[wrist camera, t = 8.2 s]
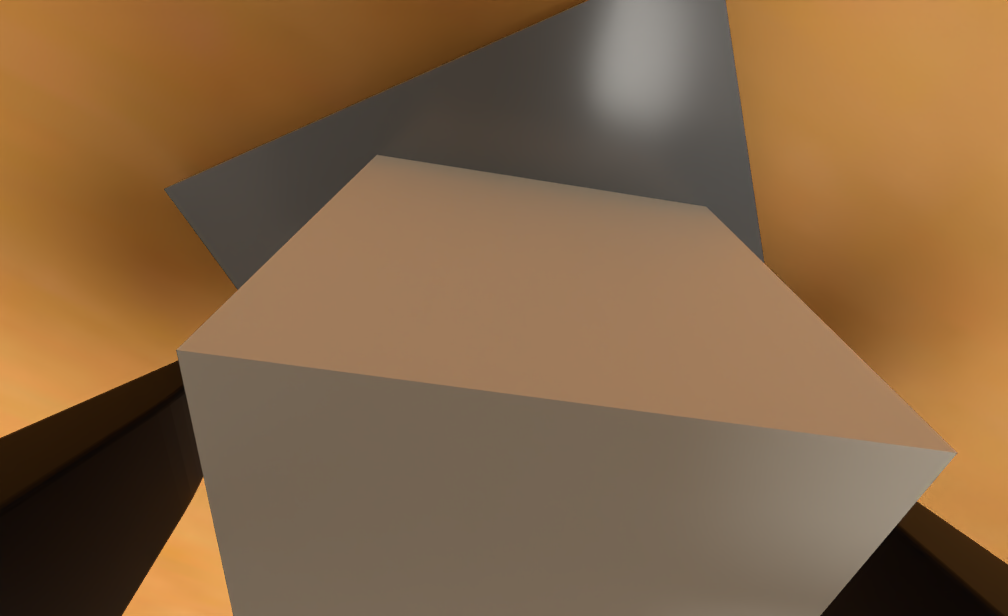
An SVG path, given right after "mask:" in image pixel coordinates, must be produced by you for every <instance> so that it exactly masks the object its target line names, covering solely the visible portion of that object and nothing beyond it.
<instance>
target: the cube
mask: <svg viewBox="0 0 1008 616" xmlns="http://www.w3.org/2000/svg"><path fill="white" fill-rule="evenodd" d="M176 351H177V355H178V360H179V365H180V369H181V374H182V379H183V383H184V388H185V393H186V397H187V402H188V407H189V411H190V416H191V421H192V425H193V430H194V435H195V439H196V444H197V449H198V453H199V458H200V463H201V467H202V472H203V476H204V481H205V486H206V490H207V495H208V500H209V504H210V509H211V514H212V518H213V523H214V528H215V532H216V537H217V542H218V546H219V551H220V556H221V560H222V565H223V570H224V574H225V579H226V584H227V588H228V593H229V598H230V602H231V607H232V612H233V616H820V615H821V614H822V613H823V612H824V611H825V609H826V608H827V607H828V606H829V605H830V603H831V602H832V601H833V600H834V599H835V598H836V596H837V595H838V594H839V593H840V592H841V590H842V589H843V588H844V587H845V586H846V584H847V583H848V582H849V581H850V580H851V579H852V577H853V576H854V575H855V574H856V573H857V571H858V570H859V569H860V568H861V567H862V566H863V564H864V563H865V562H866V561H867V560H868V558H869V557H870V556H871V555H872V554H873V552H874V551H875V550H876V549H877V548H878V547H879V545H880V544H881V543H882V542H883V541H884V539H885V538H886V537H887V536H888V535H889V533H890V532H891V531H892V530H893V529H894V528H895V526H896V525H897V524H898V523H899V522H900V520H901V519H902V518H903V517H904V516H905V515H906V513H907V512H908V511H909V510H910V509H911V507H912V506H913V505H914V504H915V503H916V501H917V500H918V499H919V498H920V497H921V496H922V494H923V493H924V492H925V491H926V490H927V488H928V487H929V486H930V485H931V484H932V482H933V481H934V480H935V479H936V478H937V477H938V475H939V474H940V473H941V472H942V471H943V469H944V468H945V467H946V466H947V465H948V464H949V462H950V461H951V460H952V459H953V458H954V456H955V455H956V454H957V452H956V451H955V450H954V449H953V448H952V447H951V446H950V445H949V444H948V443H947V442H946V441H945V440H944V439H943V438H942V437H941V436H940V435H939V434H938V433H937V432H936V431H935V430H934V429H933V428H931V427H930V426H929V425H928V424H927V423H926V422H925V421H924V420H923V419H922V418H921V417H920V416H919V415H918V414H917V413H916V412H915V411H914V410H913V409H912V408H911V407H910V406H909V405H908V404H907V403H906V402H905V401H904V400H903V399H902V398H901V397H900V396H899V395H898V394H897V393H896V392H895V391H894V390H893V389H892V388H891V387H890V386H889V385H888V384H887V383H886V382H885V381H884V380H883V379H882V378H881V377H880V376H878V375H877V374H876V373H875V372H874V371H873V370H872V369H871V368H870V367H869V366H868V365H867V364H866V363H865V362H864V361H863V360H862V359H861V358H860V357H859V356H858V355H857V354H856V353H855V352H854V351H853V350H852V349H851V348H850V347H849V346H848V345H847V344H846V343H845V342H844V341H843V340H842V339H841V338H840V337H839V336H838V335H837V334H836V333H835V332H834V331H833V330H832V329H831V328H830V327H829V326H828V325H826V324H825V323H824V322H823V321H822V320H821V319H820V318H819V317H818V316H817V315H816V314H815V313H814V312H813V311H812V310H811V309H810V308H809V307H808V306H807V305H806V304H805V303H804V302H803V301H802V300H801V299H800V298H799V297H798V296H797V295H796V294H795V293H794V292H793V291H792V290H791V289H790V288H789V287H788V286H787V285H786V284H785V283H784V282H783V281H782V280H781V279H780V278H779V277H778V276H777V275H776V274H775V273H773V272H772V271H771V270H770V269H769V268H768V267H767V266H766V265H765V264H764V263H763V262H762V261H761V260H760V259H759V258H758V257H757V256H756V255H755V254H754V253H753V252H752V251H751V250H750V249H749V248H748V247H747V246H746V245H745V244H744V243H743V242H742V241H741V240H740V239H739V238H738V237H737V236H736V235H735V234H734V233H733V232H732V231H731V230H730V229H729V228H728V227H727V226H726V225H725V224H724V223H723V222H721V221H720V220H719V219H718V218H717V217H716V216H715V215H714V214H713V213H712V212H711V211H710V210H709V209H708V208H707V207H706V206H699V205H693V204H687V203H680V202H674V201H667V200H661V199H655V198H648V197H642V196H636V195H629V194H623V193H617V192H610V191H604V190H598V189H591V188H585V187H579V186H572V185H566V184H559V183H553V182H547V181H540V180H534V179H528V178H521V177H515V176H509V175H502V174H496V173H490V172H483V171H477V170H470V169H464V168H458V167H451V166H445V165H439V164H432V163H426V162H420V161H413V160H407V159H401V158H394V157H388V156H382V155H376V156H375V157H374V158H373V159H372V160H371V161H370V162H369V163H368V164H367V165H366V166H365V167H364V168H363V169H362V170H361V171H360V172H359V173H358V174H357V175H356V176H355V177H354V178H352V179H351V180H350V181H349V182H348V183H347V184H346V185H345V186H344V187H343V188H342V189H341V190H340V191H339V192H338V193H337V194H336V195H335V196H334V197H333V198H332V199H331V200H330V201H329V202H328V203H327V204H326V205H325V206H324V207H323V208H322V209H321V210H320V211H319V212H318V213H316V214H315V215H314V216H313V217H312V218H311V219H310V220H309V221H308V222H307V223H306V224H305V225H304V226H303V227H302V228H301V229H300V230H299V231H298V232H297V233H296V234H295V235H294V236H293V237H292V238H291V239H290V240H289V241H288V242H287V243H286V244H285V245H284V246H283V247H282V248H281V249H279V250H278V251H277V252H276V253H275V254H274V255H273V256H272V257H271V258H270V259H269V260H268V261H267V262H266V263H265V264H264V265H263V266H262V267H261V268H260V269H259V270H258V271H257V272H256V273H255V274H254V275H253V276H252V277H251V278H250V279H249V280H248V281H247V282H246V283H245V284H243V285H242V286H241V287H240V288H239V289H238V290H237V291H236V292H235V293H234V294H233V295H232V296H231V297H230V298H229V299H228V300H227V301H226V302H225V303H224V304H223V305H222V306H221V307H220V308H219V309H218V310H217V311H216V312H215V313H214V314H213V315H212V316H211V317H210V318H209V319H208V320H206V321H205V322H204V323H203V324H202V325H201V326H200V327H199V328H198V329H197V330H196V331H195V332H194V333H193V334H192V335H191V336H190V337H189V338H188V339H187V340H186V341H185V342H184V343H183V344H182V345H181V346H180V347H179V348H178V349H177V350H176Z"/></svg>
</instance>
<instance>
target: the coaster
mask: <svg viewBox="0 0 1008 616" xmlns="http://www.w3.org/2000/svg"><path fill="white" fill-rule="evenodd" d="M376 155H382V156H388V157H394V158H401V159H407V160H413V161H420V162H426V163H432V164H439V165H445V166H451V167H458V168H464V169H470V170H477V171H483V172H490V173H496V174H502V175H509V176H515V177H521V178H528V179H534V180H540V181H547V182H553V183H559V184H566V185H572V186H579V187H585V188H591V189H598V190H604V191H610V192H617V193H623V194H629V195H636V196H642V197H648V198H655V199H661V200H667V201H674V202H680V203H687V204H693V205H699V206H706V207H707V208H708V209H709V210H710V211H711V212H712V213H713V214H714V215H715V216H716V217H717V218H718V219H719V220H720V221H721V222H723V223H724V224H725V225H726V226H727V227H728V228H729V229H730V230H731V231H732V232H733V233H734V234H735V235H736V236H737V237H738V238H739V239H740V240H741V241H742V242H743V243H744V244H745V245H746V246H747V247H748V248H749V249H750V250H751V251H752V252H753V253H754V254H755V255H756V256H757V257H758V258H759V259H760V260H761V261H762V262H763V263H764V258H763V251H762V244H761V237H760V231H759V224H758V217H757V210H756V204H755V197H754V190H753V183H752V176H751V170H750V163H749V156H748V149H747V143H746V136H745V129H744V122H743V116H742V109H741V102H740V95H739V89H738V82H737V75H736V68H735V61H734V55H733V48H732V41H731V34H730V28H729V21H728V14H727V7H726V1H725V0H587V1H584V2H582V3H580V4H578V5H575V6H573V7H571V8H569V9H566V10H564V11H562V12H560V13H557V14H555V15H553V16H551V17H548V18H546V19H544V20H542V21H539V22H537V23H535V24H533V25H530V26H528V27H526V28H524V29H521V30H519V31H517V32H515V33H512V34H510V35H508V36H506V37H503V38H501V39H499V40H497V41H494V42H492V43H490V44H488V45H485V46H483V47H481V48H479V49H476V50H474V51H472V52H470V53H467V54H465V55H463V56H461V57H458V58H456V59H454V60H452V61H449V62H447V63H445V64H443V65H440V66H438V67H436V68H434V69H431V70H429V71H427V72H425V73H422V74H420V75H418V76H416V77H413V78H411V79H409V80H407V81H404V82H402V83H400V84H398V85H395V86H393V87H391V88H389V89H386V90H384V91H382V92H380V93H377V94H375V95H373V96H371V97H368V98H366V99H364V100H362V101H359V102H357V103H355V104H353V105H350V106H348V107H346V108H344V109H341V110H339V111H337V112H335V113H332V114H330V115H328V116H326V117H323V118H321V119H319V120H317V121H314V122H312V123H310V124H308V125H305V126H303V127H301V128H299V129H296V130H294V131H292V132H290V133H287V134H285V135H283V136H281V137H278V138H276V139H274V140H272V141H269V142H267V143H265V144H263V145H260V146H258V147H256V148H254V149H251V150H249V151H247V152H245V153H242V154H240V155H238V156H236V157H233V158H231V159H229V160H227V161H224V162H222V163H220V164H218V165H215V166H213V167H211V168H209V169H206V170H204V171H202V172H200V173H197V174H195V175H193V176H191V177H188V178H186V179H184V180H182V181H180V182H177V183H175V184H173V185H171V186H169V187H167V188H165V189H164V190H165V191H166V193H167V194H168V195H169V197H170V198H171V200H172V201H173V202H174V204H175V205H176V206H177V208H178V209H179V210H180V212H181V213H182V214H183V216H184V217H185V219H186V220H187V221H188V223H189V224H190V225H191V227H192V228H193V229H194V231H195V232H196V234H197V235H198V236H199V238H200V239H201V240H202V242H203V243H204V244H205V246H206V247H207V249H208V250H209V251H210V253H211V254H212V255H213V257H214V258H215V259H216V261H217V262H218V263H219V265H220V266H221V268H222V269H223V270H224V272H225V273H226V274H227V276H228V277H229V278H230V280H231V281H232V283H233V284H234V285H235V287H236V288H237V289H239V288H240V287H241V286H242V285H243V284H245V283H246V282H247V281H248V280H249V279H250V278H251V277H252V276H253V275H254V274H255V273H256V272H257V271H258V270H259V269H260V268H261V267H262V266H263V265H264V264H265V263H266V262H267V261H268V260H269V259H270V258H271V257H272V256H273V255H274V254H275V253H276V252H277V251H278V250H279V249H281V248H282V247H283V246H284V245H285V244H286V243H287V242H288V241H289V240H290V239H291V238H292V237H293V236H294V235H295V234H296V233H297V232H298V231H299V230H300V229H301V228H302V227H303V226H304V225H305V224H306V223H307V222H308V221H309V220H310V219H311V218H312V217H313V216H314V215H315V214H316V213H318V212H319V211H320V210H321V209H322V208H323V207H324V206H325V205H326V204H327V203H328V202H329V201H330V200H331V199H332V198H333V197H334V196H335V195H336V194H337V193H338V192H339V191H340V190H341V189H342V188H343V187H344V186H345V185H346V184H347V183H348V182H349V181H350V180H351V179H352V178H354V177H355V176H356V175H357V174H358V173H359V172H360V171H361V170H362V169H363V168H364V167H365V166H366V165H367V164H368V163H369V162H370V161H371V160H372V159H373V158H374V157H375V156H376Z"/></svg>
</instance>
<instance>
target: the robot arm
mask: <svg viewBox="0 0 1008 616" xmlns="http://www.w3.org/2000/svg"><path fill="white" fill-rule="evenodd" d="M202 478H203V472H202V467H201V463H200V458H199V453H198V449H197V444H196V439H195V435H194V430H193V425H192V421H191V416H190V411H189V407H188V402H187V397H186V393H185V388H184V383H183V379H182V374H181V369H180V365H179V360H178V361H176V362H174V363H171V364H169V365H167V366H164V367H162V368H160V369H158V370H155V371H153V372H151V373H148V374H146V375H144V376H141V377H139V378H137V379H135V380H132V381H130V382H128V383H125V384H123V385H121V386H119V387H116V388H114V389H112V390H109V391H107V392H105V393H103V394H100V395H98V396H96V397H93V398H91V399H89V400H86V401H84V402H82V403H80V404H77V405H75V406H73V407H70V408H68V409H66V410H63V411H61V412H59V413H57V414H54V415H52V416H50V417H47V418H45V419H43V420H41V421H38V422H36V423H34V424H31V425H29V426H27V427H24V428H22V429H20V430H18V431H15V432H13V433H11V434H8V435H6V436H4V437H1V438H0V616H122V614H123V613H124V611H125V609H126V608H127V606H128V605H129V603H130V601H131V600H132V598H133V596H134V595H135V593H136V591H137V590H138V588H139V586H140V585H141V583H142V582H143V580H144V578H145V577H146V575H147V573H148V572H149V570H150V568H151V567H152V565H153V563H154V562H155V560H156V559H157V557H158V555H159V554H160V552H161V550H162V549H163V547H164V545H165V544H166V542H167V540H168V539H169V537H170V536H171V534H172V532H173V531H174V529H175V527H176V526H177V524H178V522H179V521H180V519H181V517H182V516H183V514H184V512H185V511H186V509H187V507H188V505H189V504H190V502H191V500H192V499H193V497H194V495H195V493H196V491H197V489H198V487H199V485H200V483H201V480H202ZM820 616H1008V564H1006V563H1005V562H1003V561H1002V560H1001V559H999V558H998V557H996V556H995V555H993V554H992V553H990V552H989V551H988V550H986V549H985V548H983V547H982V546H980V545H979V544H977V543H976V542H975V541H973V540H972V539H970V538H969V537H967V536H966V535H964V534H963V533H962V532H960V531H959V530H957V529H956V528H954V527H953V526H952V525H950V524H949V523H947V522H946V521H944V520H943V519H941V518H940V517H939V516H937V515H936V514H934V513H933V512H931V511H930V510H928V509H927V508H926V507H924V506H923V505H921V504H920V503H918V502H917V501H916V503H915V504H914V505H913V506H912V507H911V509H910V510H909V511H908V512H907V513H906V515H905V516H904V517H903V518H902V519H901V520H900V522H899V523H898V524H897V525H896V526H895V528H894V529H893V530H892V531H891V532H890V533H889V535H888V536H887V537H886V538H885V539H884V541H883V542H882V543H881V544H880V545H879V547H878V548H877V549H876V550H875V551H874V552H873V554H872V555H871V556H870V557H869V558H868V560H867V561H866V562H865V563H864V564H863V566H862V567H861V568H860V569H859V570H858V571H857V573H856V574H855V575H854V576H853V577H852V579H851V580H850V581H849V582H848V583H847V584H846V586H845V587H844V588H843V589H842V590H841V592H840V593H839V594H838V595H837V596H836V598H835V599H834V600H833V601H832V602H831V603H830V605H829V606H828V607H827V608H826V609H825V611H824V612H823V613H822V614H821V615H820Z"/></svg>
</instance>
